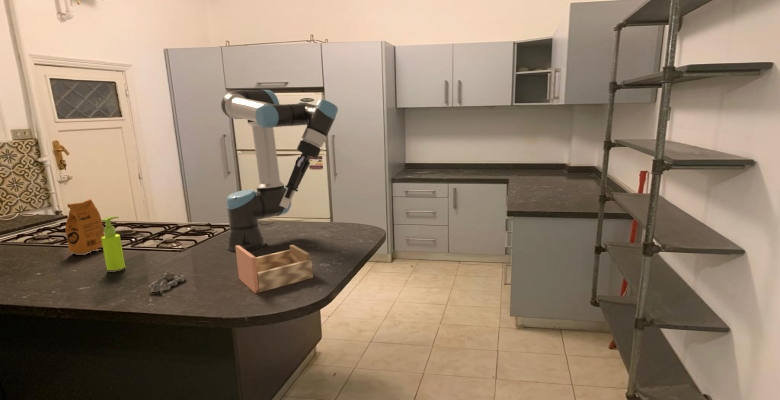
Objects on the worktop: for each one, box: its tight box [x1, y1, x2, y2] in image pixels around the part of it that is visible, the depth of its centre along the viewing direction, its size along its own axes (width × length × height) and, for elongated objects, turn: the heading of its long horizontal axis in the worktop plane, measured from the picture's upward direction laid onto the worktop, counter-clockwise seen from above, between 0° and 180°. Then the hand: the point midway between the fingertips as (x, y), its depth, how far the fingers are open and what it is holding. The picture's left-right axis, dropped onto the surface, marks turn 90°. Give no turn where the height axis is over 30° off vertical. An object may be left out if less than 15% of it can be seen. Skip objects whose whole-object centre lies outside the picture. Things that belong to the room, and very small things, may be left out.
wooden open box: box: [255, 244, 314, 293], centre depth 150 cm, size 18×16×9 cm
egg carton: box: [148, 270, 186, 294], centre depth 148 cm, size 11×8×4 cm
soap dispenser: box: [101, 216, 126, 271], centre depth 166 cm, size 6×7×20 cm
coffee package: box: [65, 198, 105, 253], centre depth 190 cm, size 10×12×22 cm
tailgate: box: [235, 245, 260, 294], centre depth 144 cm, size 1×16×12 cm, turn 35°
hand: (283, 206), depth 153 cm, fingers closed
